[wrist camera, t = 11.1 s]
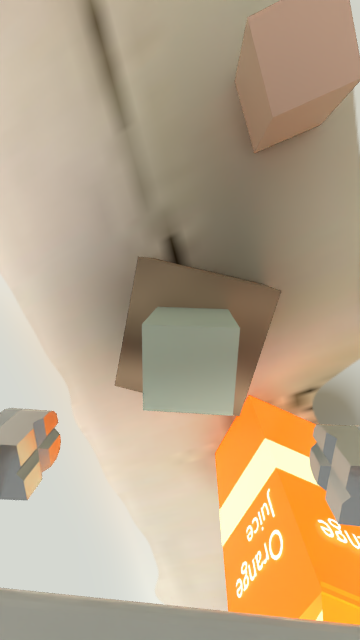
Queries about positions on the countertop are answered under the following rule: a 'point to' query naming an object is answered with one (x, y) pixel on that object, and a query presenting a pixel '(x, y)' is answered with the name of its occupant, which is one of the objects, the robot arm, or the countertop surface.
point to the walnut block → (196, 292)
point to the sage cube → (190, 360)
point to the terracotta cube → (295, 67)
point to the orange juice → (282, 523)
